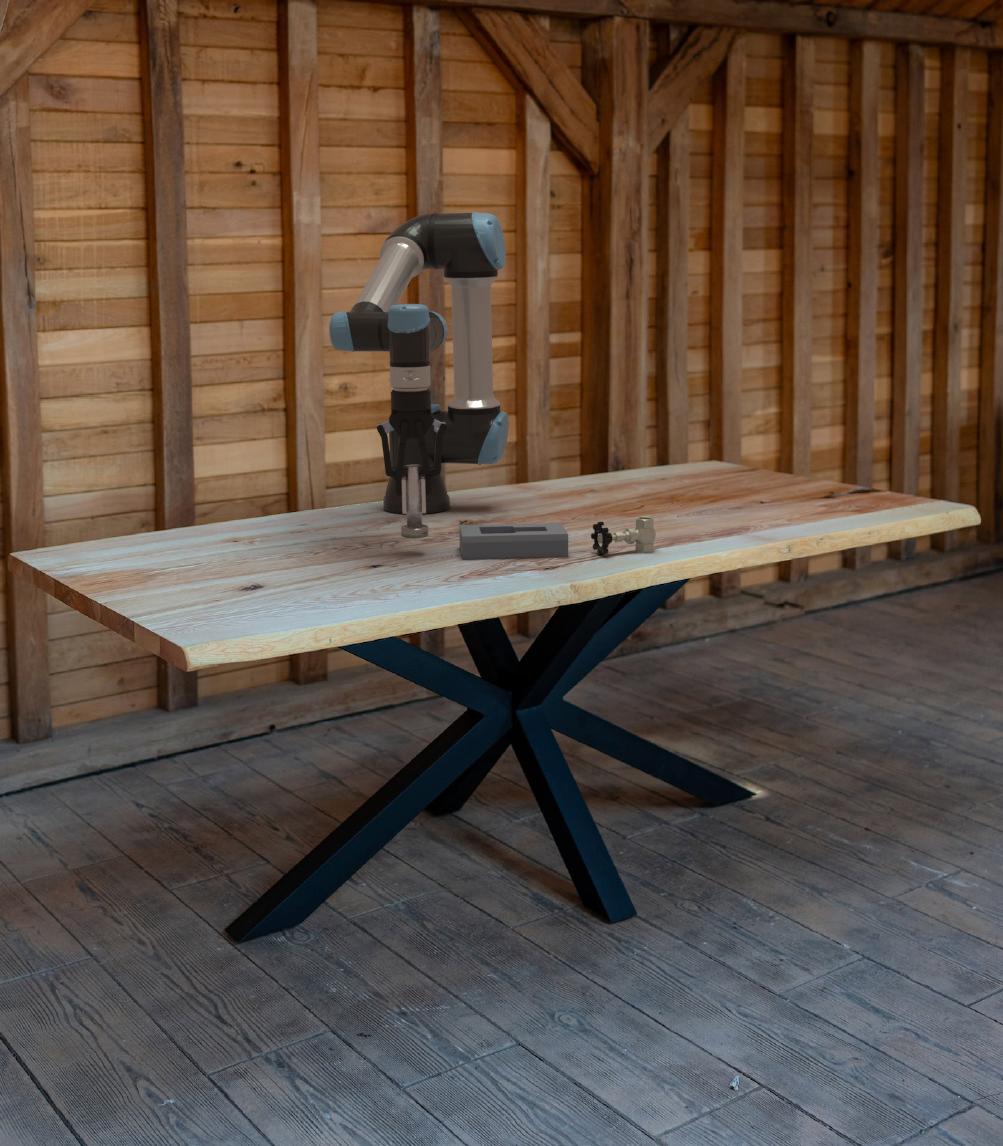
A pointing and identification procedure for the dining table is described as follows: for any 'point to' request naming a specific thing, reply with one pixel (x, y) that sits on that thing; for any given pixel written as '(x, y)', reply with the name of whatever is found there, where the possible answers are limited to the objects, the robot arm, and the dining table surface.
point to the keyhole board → (513, 541)
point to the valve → (626, 536)
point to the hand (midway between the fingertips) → (414, 511)
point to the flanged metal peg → (413, 504)
